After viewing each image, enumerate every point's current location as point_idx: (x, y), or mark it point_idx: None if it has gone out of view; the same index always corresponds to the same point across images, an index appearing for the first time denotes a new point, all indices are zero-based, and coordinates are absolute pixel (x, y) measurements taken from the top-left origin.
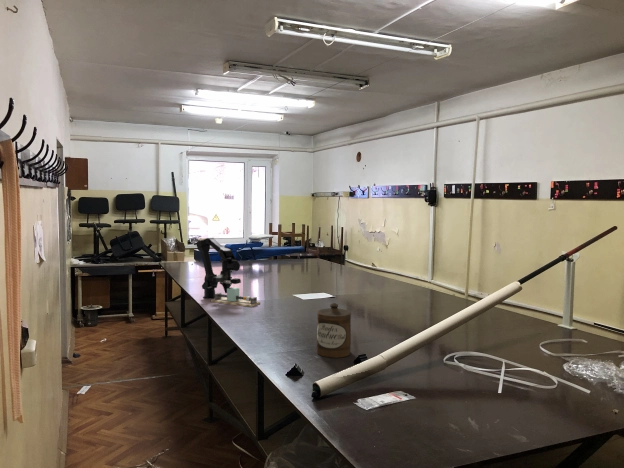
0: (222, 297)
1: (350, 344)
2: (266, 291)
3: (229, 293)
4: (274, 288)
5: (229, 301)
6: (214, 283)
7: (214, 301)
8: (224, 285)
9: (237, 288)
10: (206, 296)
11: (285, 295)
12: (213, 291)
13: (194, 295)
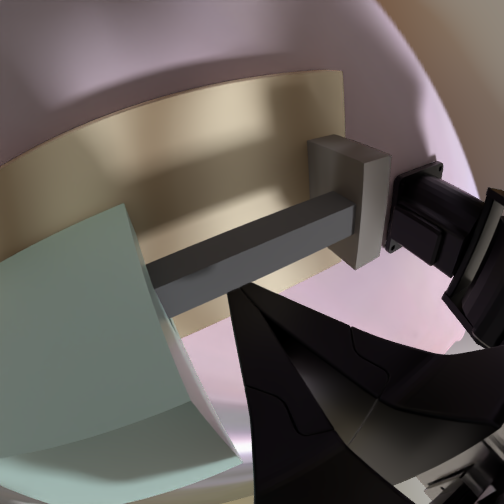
0: (319, 262)
1: None
2: (238, 467)
3: (71, 313)
4: (252, 476)
5: (54, 207)
6: (498, 294)
7: (284, 74)
8: (385, 409)
9: (52, 502)
10: (431, 176)
11: None
12: (435, 242)
13: (472, 177)
